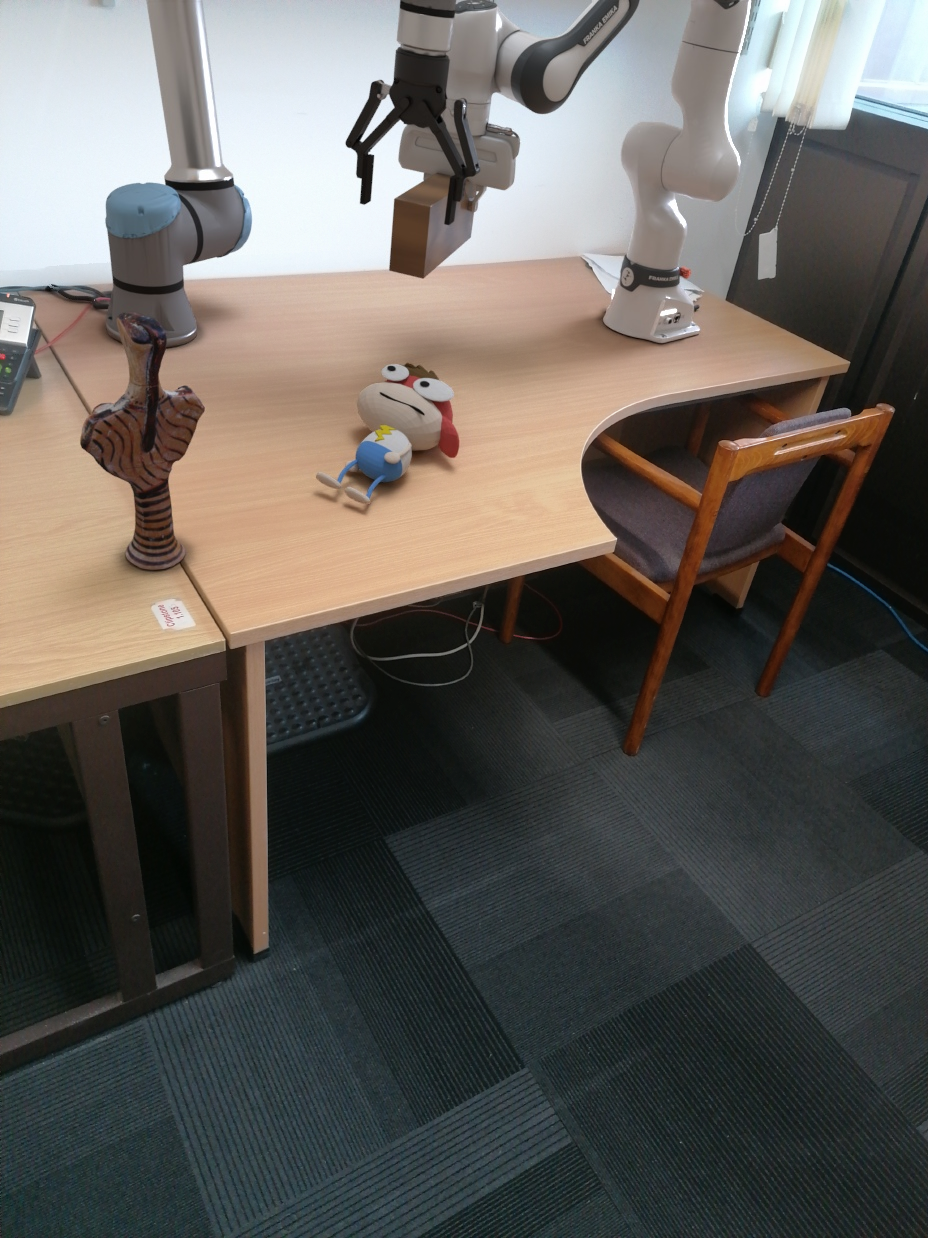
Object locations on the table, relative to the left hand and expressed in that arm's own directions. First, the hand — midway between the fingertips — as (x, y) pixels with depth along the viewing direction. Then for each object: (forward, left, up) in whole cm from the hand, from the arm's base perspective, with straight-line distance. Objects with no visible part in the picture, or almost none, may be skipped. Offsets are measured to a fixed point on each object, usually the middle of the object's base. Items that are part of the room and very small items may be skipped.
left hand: (406, 212), depth 135 cm
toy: (+8, -23, -29) cm, 38 cm away
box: (0, +15, -10) cm, 18 cm away
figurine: (-8, -60, -29) cm, 67 cm away
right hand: (0, +24, -4) cm, 24 cm away
